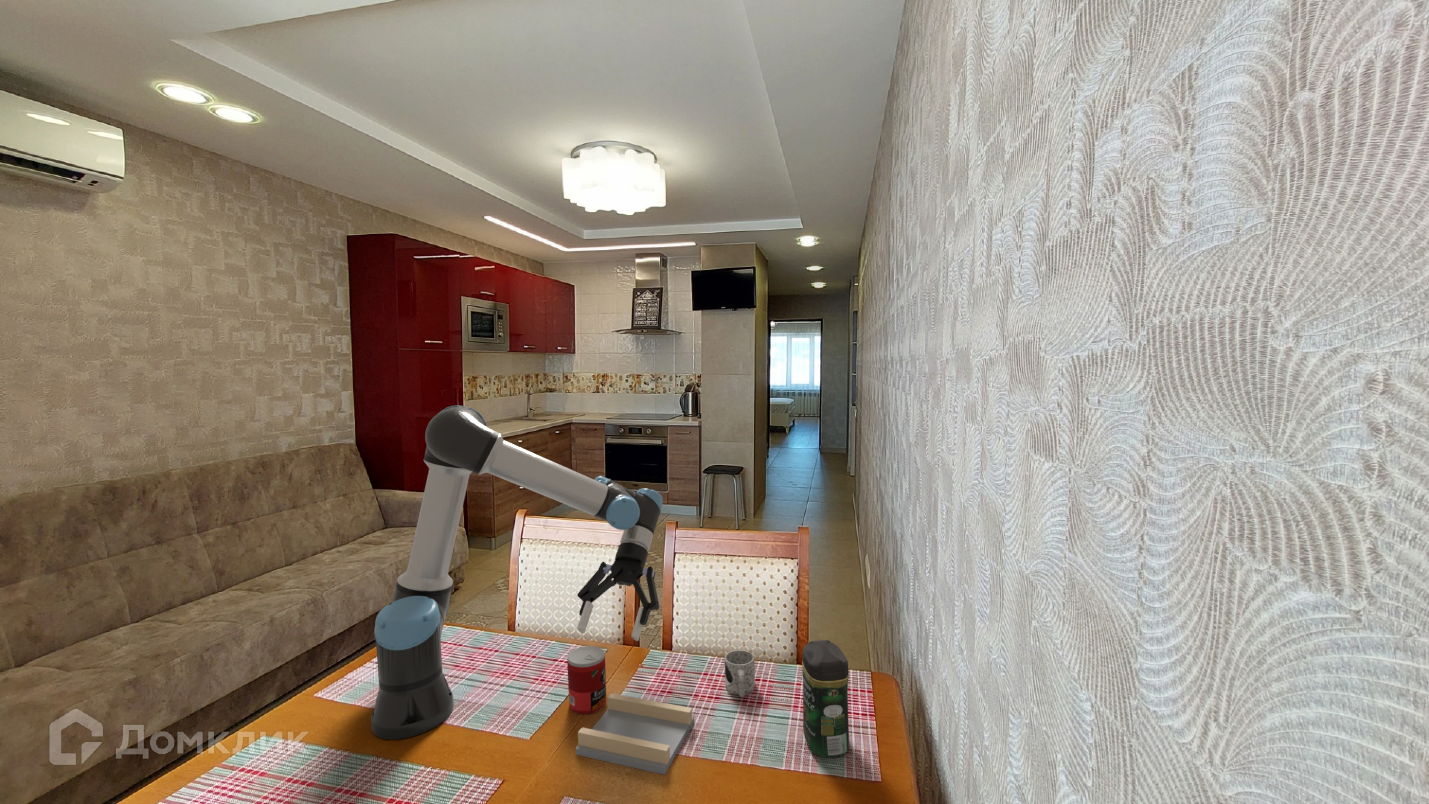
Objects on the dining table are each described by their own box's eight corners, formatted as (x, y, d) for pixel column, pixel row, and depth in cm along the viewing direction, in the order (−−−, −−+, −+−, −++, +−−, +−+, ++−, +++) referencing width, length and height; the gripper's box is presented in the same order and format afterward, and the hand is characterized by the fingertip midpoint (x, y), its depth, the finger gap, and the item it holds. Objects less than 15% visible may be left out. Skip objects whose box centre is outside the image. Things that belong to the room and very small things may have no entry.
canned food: (598, 717, 117) (596, 665, 116) (562, 713, 118) (560, 662, 118) (612, 695, 124) (610, 647, 123) (578, 692, 126) (576, 644, 125)
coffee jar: (798, 728, 112) (797, 637, 111) (837, 724, 113) (836, 634, 111) (812, 762, 102) (811, 663, 101) (854, 758, 103) (854, 660, 102)
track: (575, 754, 106) (575, 735, 105) (614, 707, 120) (613, 690, 120) (664, 774, 100) (664, 754, 100) (694, 722, 114) (693, 705, 114)
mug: (724, 678, 130) (723, 650, 130) (753, 677, 130) (752, 649, 130) (726, 704, 120) (726, 674, 120) (758, 703, 120) (757, 673, 120)
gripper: (685, 559, 139) (663, 647, 126) (595, 550, 147) (565, 633, 134) (676, 544, 134) (652, 636, 121) (583, 537, 142) (551, 622, 129)
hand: (607, 635), depth 127 cm, fingers open, 13 cm apart
